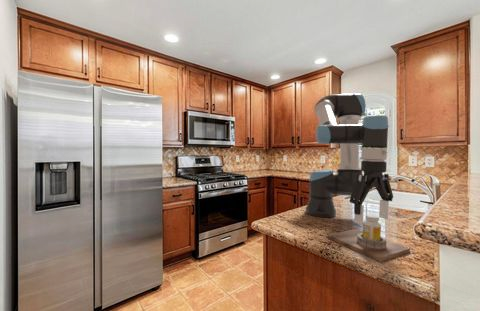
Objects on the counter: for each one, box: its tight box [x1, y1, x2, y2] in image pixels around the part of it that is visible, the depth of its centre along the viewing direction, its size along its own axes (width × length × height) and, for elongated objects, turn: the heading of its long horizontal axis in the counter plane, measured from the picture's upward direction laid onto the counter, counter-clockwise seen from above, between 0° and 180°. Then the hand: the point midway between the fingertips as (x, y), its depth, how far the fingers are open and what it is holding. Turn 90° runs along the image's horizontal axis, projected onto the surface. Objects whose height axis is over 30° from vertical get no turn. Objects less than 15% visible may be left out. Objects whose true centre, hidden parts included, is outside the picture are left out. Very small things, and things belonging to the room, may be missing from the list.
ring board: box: [327, 228, 411, 262], centre depth 79 cm, size 20×16×3 cm
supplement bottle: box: [362, 213, 382, 241], centre depth 77 cm, size 5×5×10 cm
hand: (371, 220), depth 77 cm, fingers open, 13 cm apart
